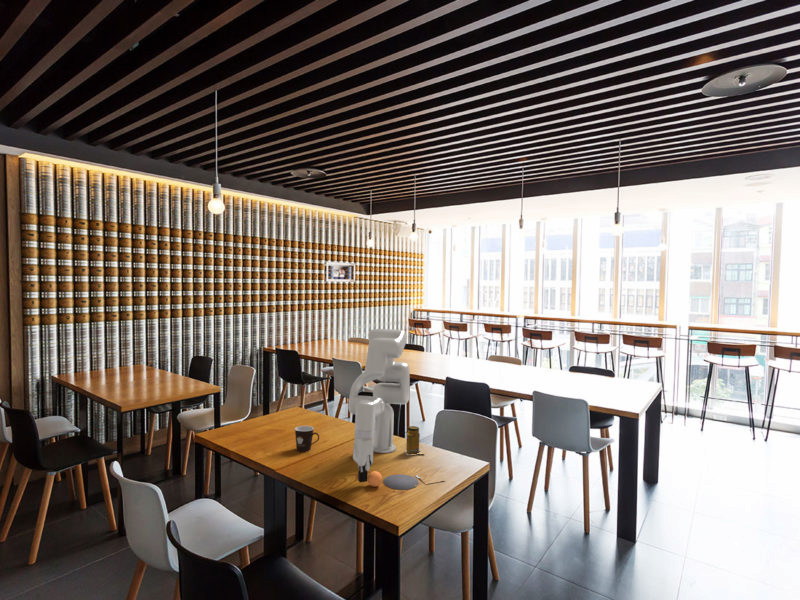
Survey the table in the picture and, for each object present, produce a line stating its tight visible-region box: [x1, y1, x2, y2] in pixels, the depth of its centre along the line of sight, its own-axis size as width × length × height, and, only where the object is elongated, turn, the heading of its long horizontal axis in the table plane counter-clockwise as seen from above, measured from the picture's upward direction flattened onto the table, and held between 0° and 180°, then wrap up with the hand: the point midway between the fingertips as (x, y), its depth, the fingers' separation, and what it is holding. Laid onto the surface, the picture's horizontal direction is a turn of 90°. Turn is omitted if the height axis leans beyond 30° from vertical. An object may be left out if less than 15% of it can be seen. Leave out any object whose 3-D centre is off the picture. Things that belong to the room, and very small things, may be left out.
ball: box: [367, 470, 383, 488], centre depth 166 cm, size 6×6×6 cm
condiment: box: [404, 425, 420, 456], centre depth 204 cm, size 7×8×12 cm
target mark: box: [383, 473, 420, 491], centre depth 170 cm, size 14×14×1 cm
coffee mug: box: [294, 425, 320, 453], centre depth 202 cm, size 12×9×10 cm
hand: (362, 481), depth 166 cm, fingers closed
